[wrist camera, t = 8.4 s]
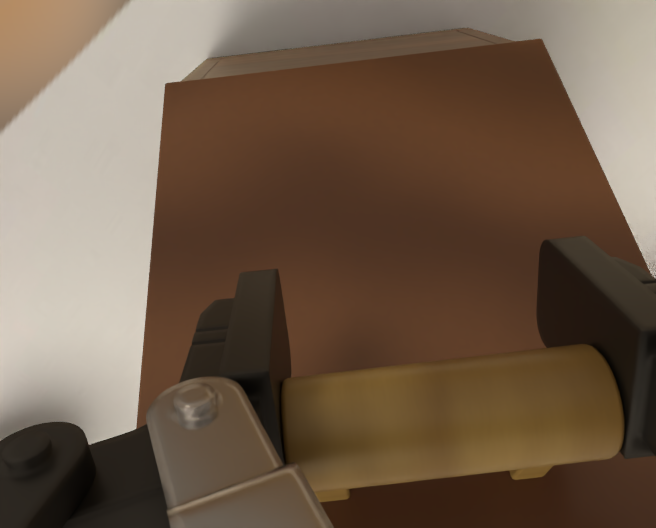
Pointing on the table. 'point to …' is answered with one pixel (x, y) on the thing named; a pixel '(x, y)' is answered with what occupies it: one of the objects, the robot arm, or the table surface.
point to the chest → (343, 52)
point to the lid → (404, 282)
